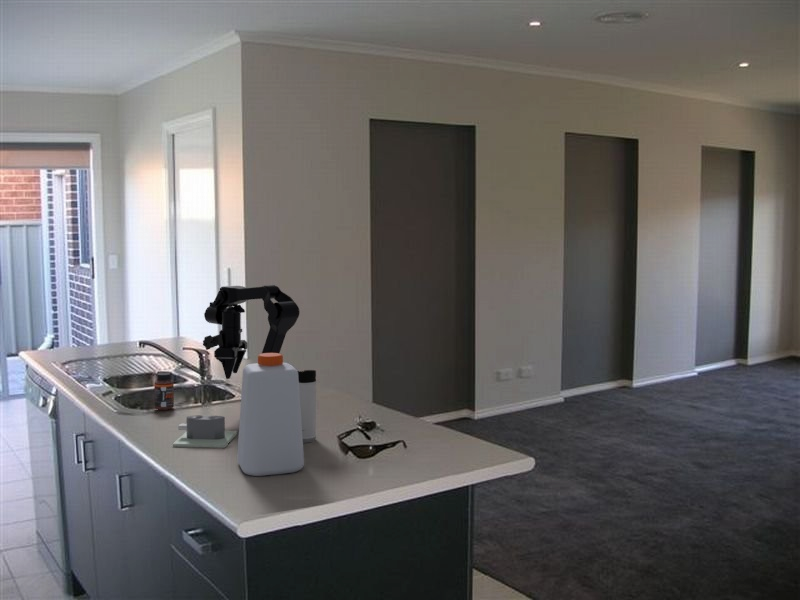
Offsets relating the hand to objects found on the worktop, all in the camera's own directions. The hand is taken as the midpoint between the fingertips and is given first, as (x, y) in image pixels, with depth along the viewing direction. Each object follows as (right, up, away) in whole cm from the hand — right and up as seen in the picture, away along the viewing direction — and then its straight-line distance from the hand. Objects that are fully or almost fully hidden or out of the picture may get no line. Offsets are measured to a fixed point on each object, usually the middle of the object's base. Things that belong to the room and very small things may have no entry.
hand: (231, 375), depth 244 cm
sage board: (-1, -15, -29) cm, 32 cm away
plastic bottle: (+21, -18, -51) cm, 58 cm away
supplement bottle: (-23, -11, +7) cm, 27 cm away
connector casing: (-1, -14, -29) cm, 32 cm away
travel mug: (+26, -15, -27) cm, 41 cm away
